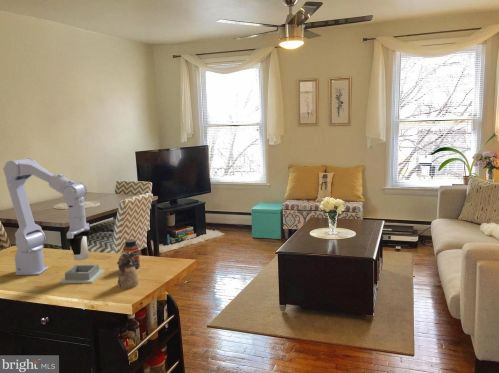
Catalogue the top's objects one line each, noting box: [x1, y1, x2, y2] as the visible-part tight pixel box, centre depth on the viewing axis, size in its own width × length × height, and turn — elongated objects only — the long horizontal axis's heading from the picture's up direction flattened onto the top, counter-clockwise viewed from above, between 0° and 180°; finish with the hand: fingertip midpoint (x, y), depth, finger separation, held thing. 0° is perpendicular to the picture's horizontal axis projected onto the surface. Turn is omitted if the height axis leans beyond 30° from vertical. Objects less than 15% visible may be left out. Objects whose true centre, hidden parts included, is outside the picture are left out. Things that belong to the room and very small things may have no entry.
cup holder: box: [58, 264, 105, 284], centre depth 161 cm, size 12×12×3 cm
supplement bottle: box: [122, 238, 141, 270], centre depth 169 cm, size 6×6×11 cm
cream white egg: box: [72, 236, 89, 261], centre depth 160 cm, size 5×5×8 cm
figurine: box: [116, 252, 139, 290], centre depth 152 cm, size 7×7×12 cm
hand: (80, 251), depth 160 cm, fingers closed on cream white egg, 5 cm apart
